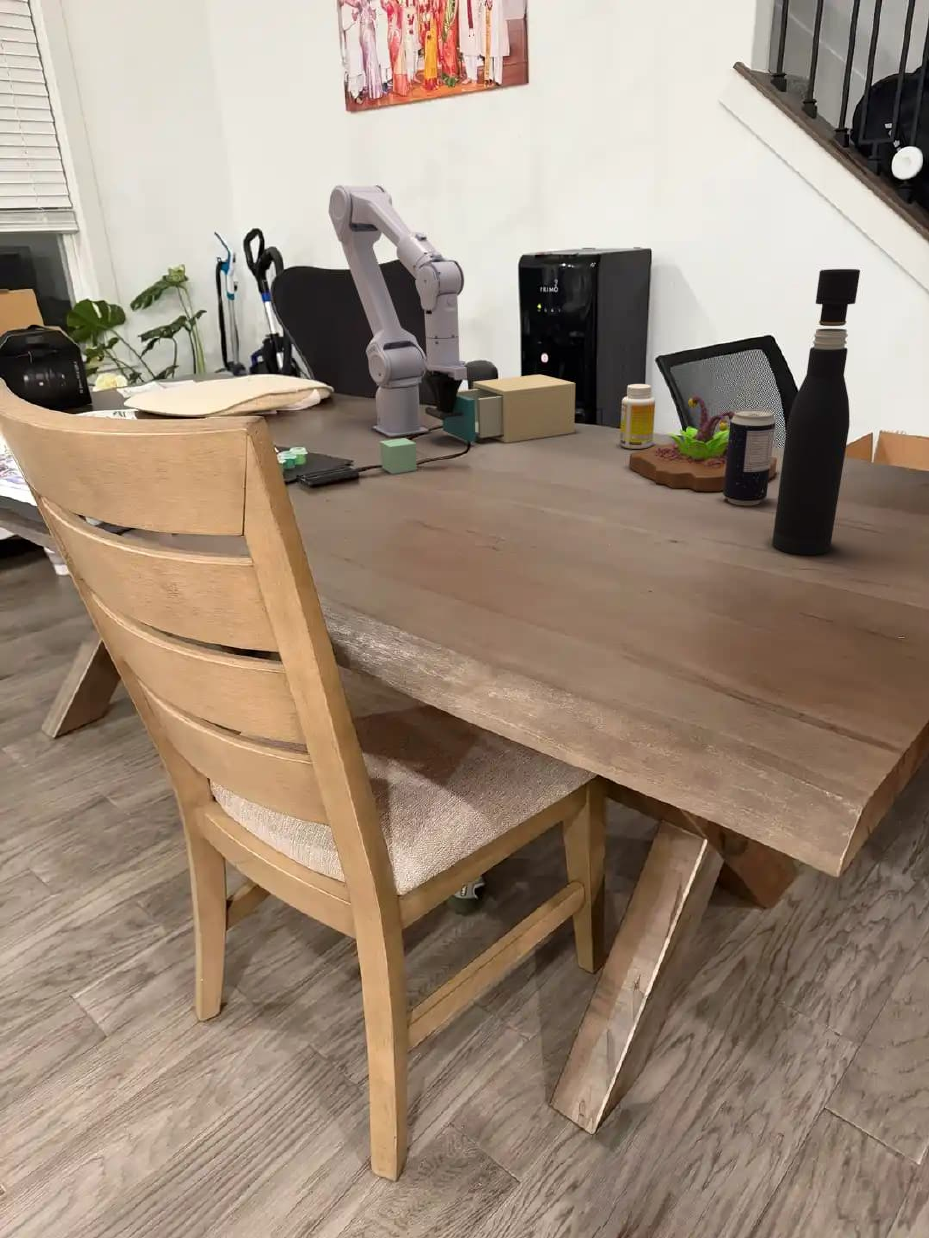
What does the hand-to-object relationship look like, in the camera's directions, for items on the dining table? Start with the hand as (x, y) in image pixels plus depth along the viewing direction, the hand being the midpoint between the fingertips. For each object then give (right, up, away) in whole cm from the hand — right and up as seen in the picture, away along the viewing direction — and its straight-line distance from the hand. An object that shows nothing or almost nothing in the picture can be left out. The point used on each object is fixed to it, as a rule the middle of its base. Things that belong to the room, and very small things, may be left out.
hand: (445, 416), depth 151 cm
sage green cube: (-7, -12, -14) cm, 20 cm away
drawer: (+6, -2, +4) cm, 7 cm away
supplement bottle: (+33, -7, -5) cm, 34 cm away
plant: (+40, -14, -21) cm, 47 cm away
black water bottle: (+43, -28, -52) cm, 73 cm away
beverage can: (+42, -20, -36) cm, 59 cm away
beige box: (+15, -1, +8) cm, 17 cm away
